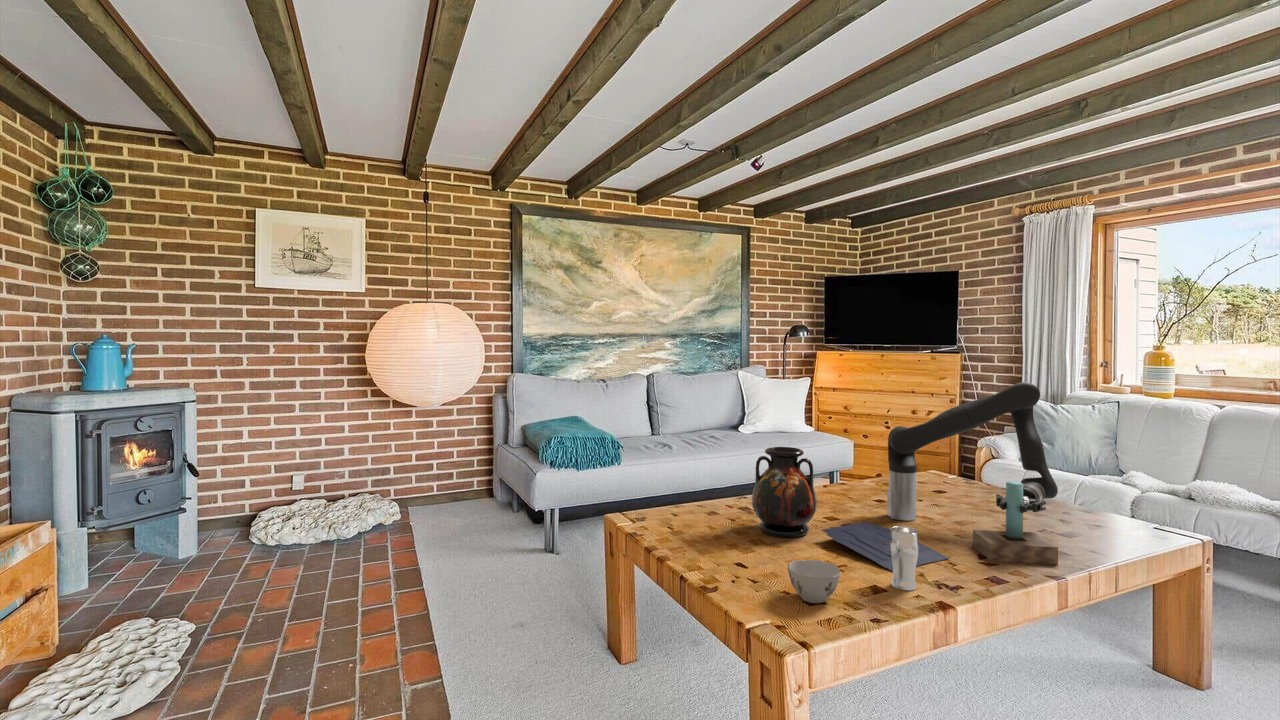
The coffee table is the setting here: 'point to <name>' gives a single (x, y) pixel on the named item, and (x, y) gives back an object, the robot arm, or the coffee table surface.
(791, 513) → the amphora vase
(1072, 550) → the coffee table surface
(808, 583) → the teacup
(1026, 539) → the walnut block
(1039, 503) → the robot arm
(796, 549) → the coffee table surface
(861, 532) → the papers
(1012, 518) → the teal pin
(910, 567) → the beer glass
